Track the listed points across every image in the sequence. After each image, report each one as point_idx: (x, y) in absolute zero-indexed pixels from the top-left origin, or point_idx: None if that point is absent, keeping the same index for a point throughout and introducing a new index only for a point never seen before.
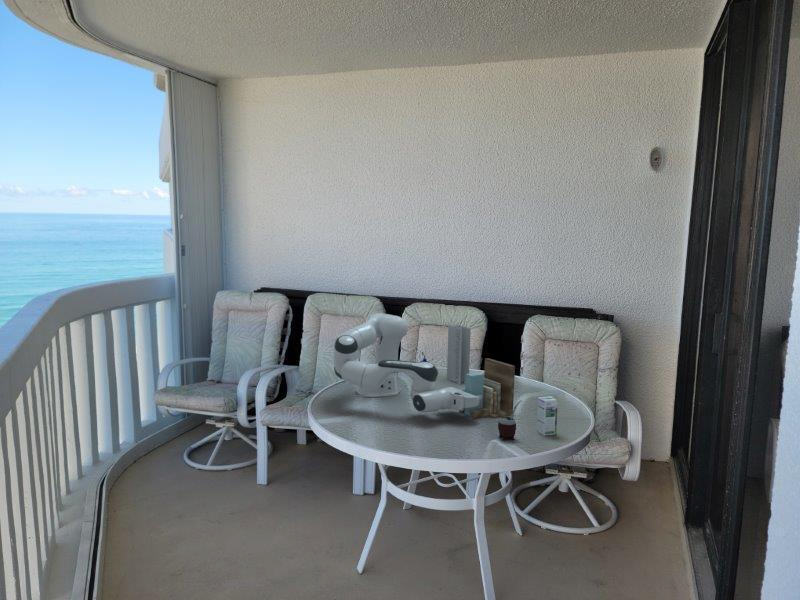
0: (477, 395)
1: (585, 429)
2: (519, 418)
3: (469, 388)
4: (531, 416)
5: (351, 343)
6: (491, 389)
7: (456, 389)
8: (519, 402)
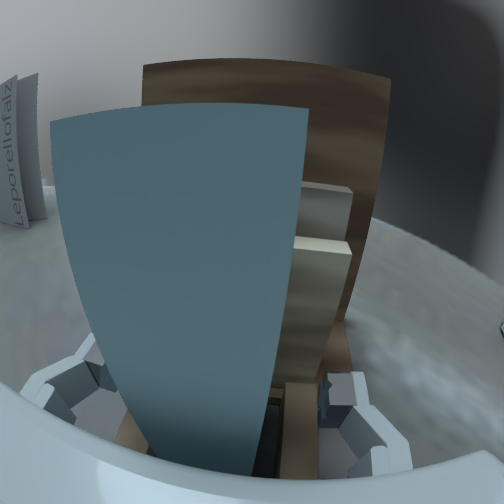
0: (345, 406)
1: (479, 272)
2: (388, 325)
3: (220, 396)
4: (376, 288)
5: None
6: (349, 255)
7: (19, 439)
8: None
